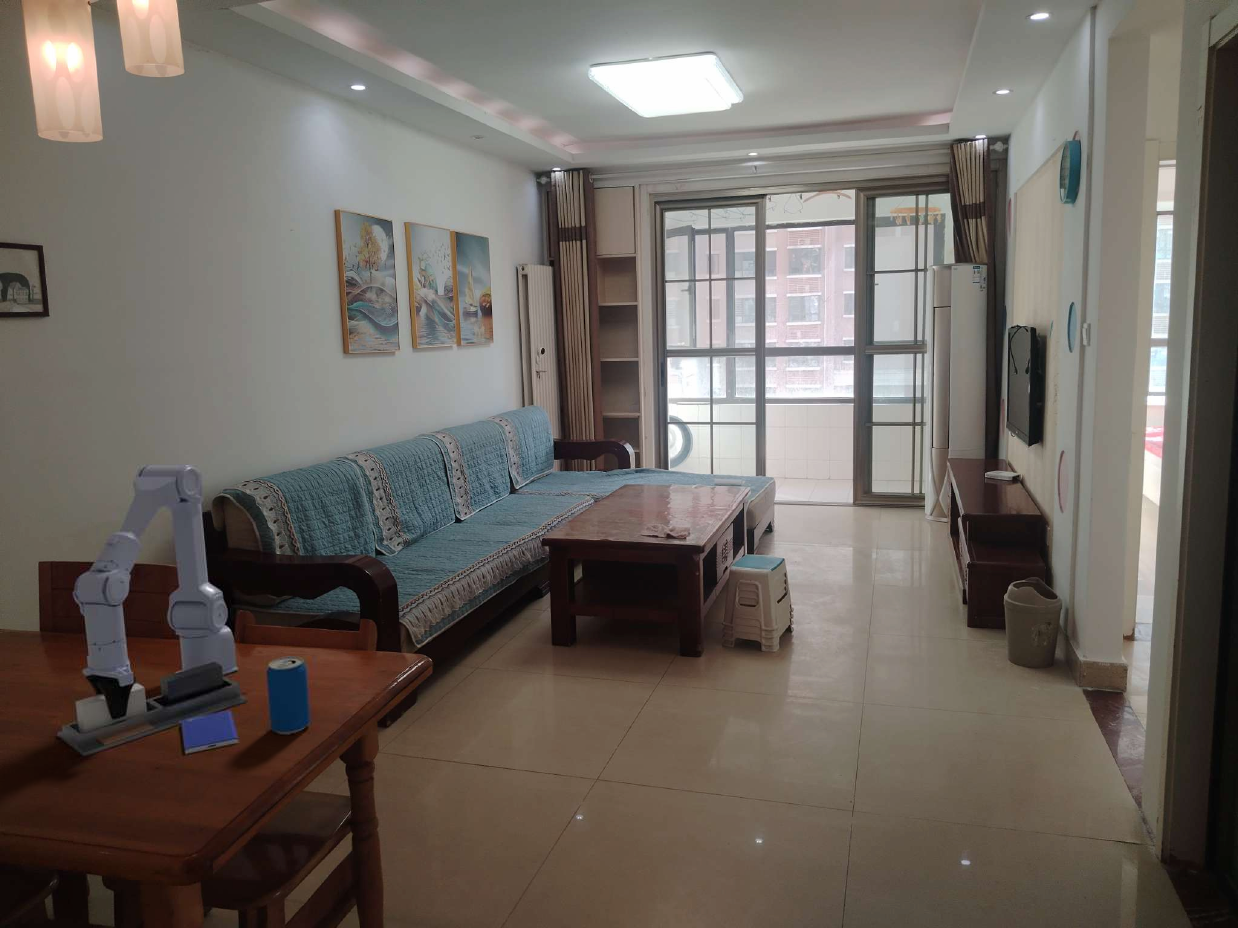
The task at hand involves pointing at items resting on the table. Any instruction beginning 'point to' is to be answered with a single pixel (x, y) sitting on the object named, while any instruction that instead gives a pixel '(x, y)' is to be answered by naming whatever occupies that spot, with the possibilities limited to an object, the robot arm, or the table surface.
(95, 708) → the panel
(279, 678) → the beverage can
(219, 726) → the hard drive
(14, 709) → the table surface
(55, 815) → the table surface
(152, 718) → the drive rack
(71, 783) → the table surface
